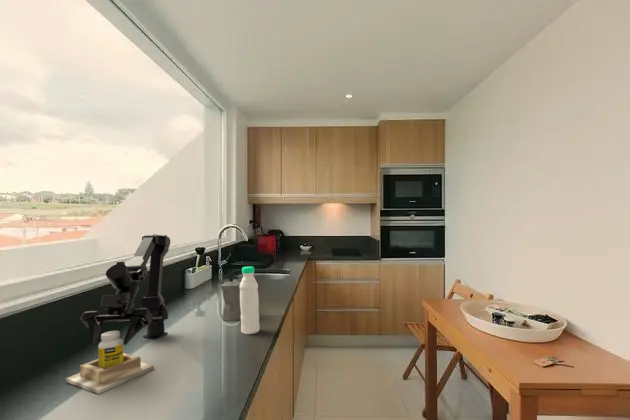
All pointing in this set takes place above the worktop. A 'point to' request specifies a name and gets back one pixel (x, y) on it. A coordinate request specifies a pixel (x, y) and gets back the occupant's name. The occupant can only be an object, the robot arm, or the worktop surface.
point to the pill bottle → (110, 349)
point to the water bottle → (249, 302)
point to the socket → (108, 374)
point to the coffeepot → (231, 300)
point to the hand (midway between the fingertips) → (107, 345)
